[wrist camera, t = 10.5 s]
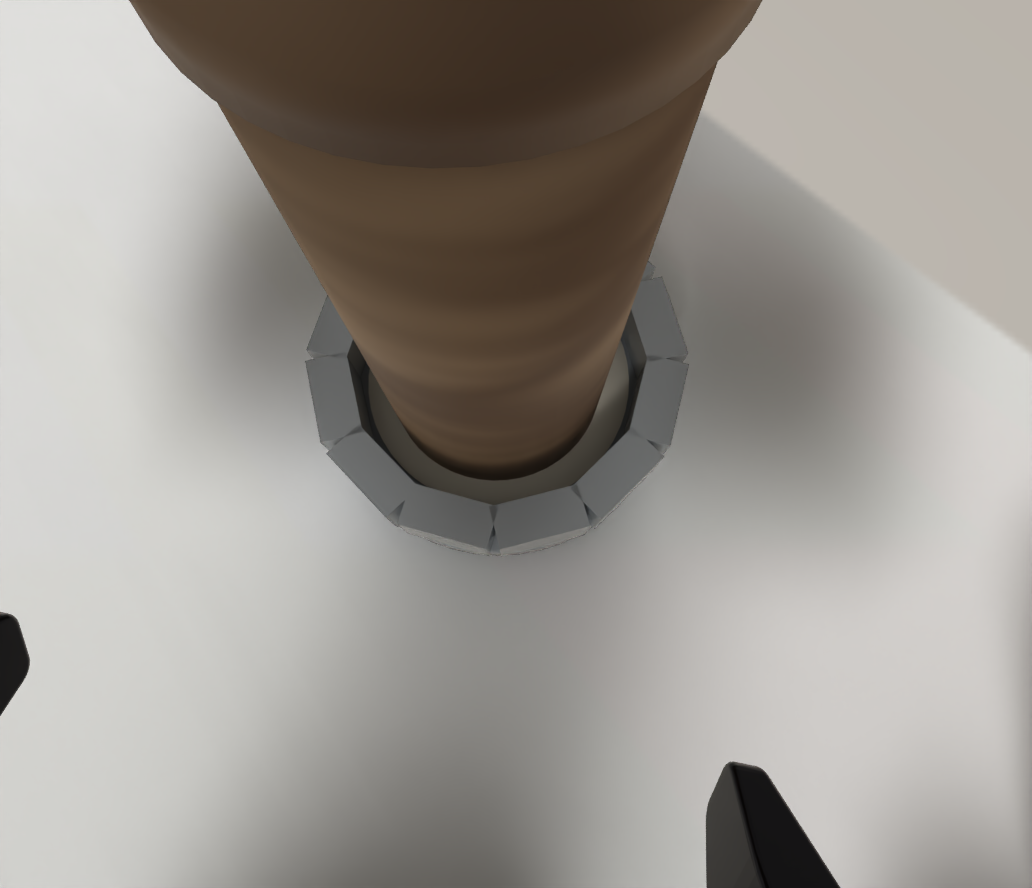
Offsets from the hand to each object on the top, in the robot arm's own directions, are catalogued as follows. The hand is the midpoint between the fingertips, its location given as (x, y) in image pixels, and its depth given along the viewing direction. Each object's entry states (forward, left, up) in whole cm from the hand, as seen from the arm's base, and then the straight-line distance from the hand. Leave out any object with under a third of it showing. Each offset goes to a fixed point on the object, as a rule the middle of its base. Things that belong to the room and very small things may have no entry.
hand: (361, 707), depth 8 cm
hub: (+6, +4, -9) cm, 12 cm away
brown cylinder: (+6, +4, -8) cm, 11 cm away
